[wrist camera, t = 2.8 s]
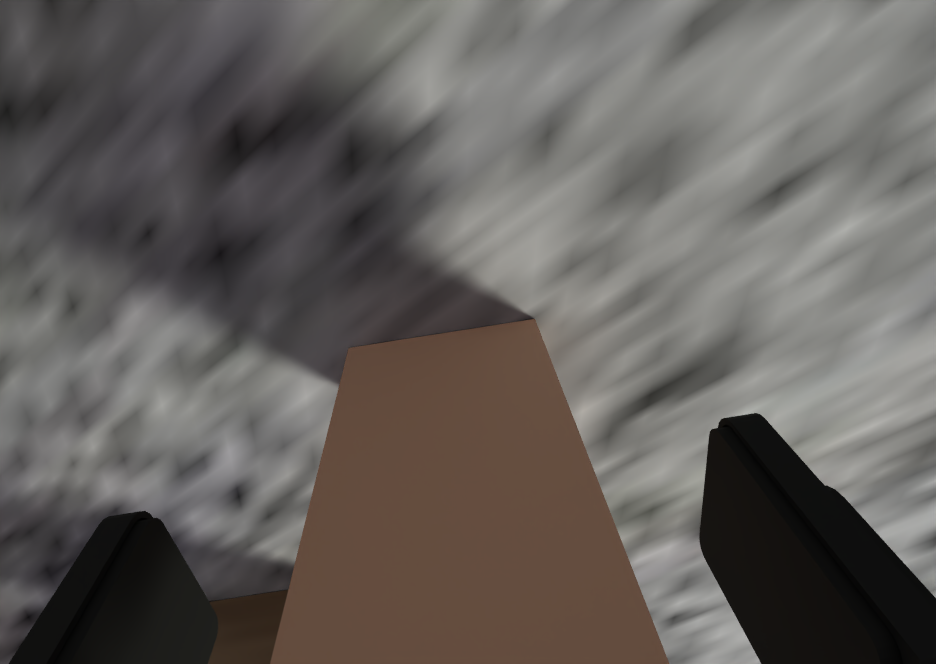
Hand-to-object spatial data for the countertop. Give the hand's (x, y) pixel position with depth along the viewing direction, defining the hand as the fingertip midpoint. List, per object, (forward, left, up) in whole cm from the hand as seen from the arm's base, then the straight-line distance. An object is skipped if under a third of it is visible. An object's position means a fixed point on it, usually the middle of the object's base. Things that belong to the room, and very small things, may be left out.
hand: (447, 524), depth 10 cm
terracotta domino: (0, 0, -6) cm, 6 cm away
